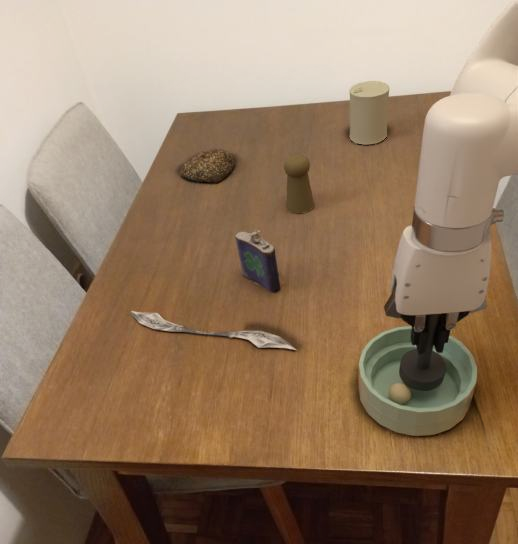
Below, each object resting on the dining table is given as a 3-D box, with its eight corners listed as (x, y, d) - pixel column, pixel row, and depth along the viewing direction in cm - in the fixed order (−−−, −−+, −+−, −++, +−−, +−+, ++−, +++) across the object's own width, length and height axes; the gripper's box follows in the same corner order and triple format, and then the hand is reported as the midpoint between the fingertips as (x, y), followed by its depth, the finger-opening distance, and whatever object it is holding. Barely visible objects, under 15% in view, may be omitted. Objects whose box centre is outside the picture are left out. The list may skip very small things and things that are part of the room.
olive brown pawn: (282, 213, 111) (277, 164, 103) (290, 197, 115) (285, 149, 107) (310, 214, 109) (307, 165, 101) (317, 199, 113) (314, 150, 105)
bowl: (454, 350, 79) (460, 321, 75) (483, 434, 69) (491, 407, 65) (353, 357, 81) (353, 330, 77) (365, 441, 70) (366, 415, 66)
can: (344, 132, 133) (344, 83, 124) (379, 125, 133) (381, 75, 124) (355, 148, 126) (356, 97, 118) (392, 141, 127) (395, 89, 118)
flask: (239, 275, 98) (230, 226, 91) (251, 267, 100) (243, 219, 92) (273, 295, 93) (267, 246, 86) (285, 287, 94) (279, 237, 87)
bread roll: (216, 188, 122) (212, 168, 118) (175, 179, 127) (169, 159, 124) (245, 162, 129) (242, 142, 125) (205, 154, 134) (201, 135, 131)
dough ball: (403, 400, 75) (413, 384, 73) (405, 411, 72) (416, 395, 71) (384, 392, 75) (394, 375, 73) (385, 403, 72) (396, 386, 71)
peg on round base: (440, 357, 74) (456, 289, 65) (447, 391, 70) (464, 324, 61) (397, 357, 75) (406, 290, 66) (401, 391, 71) (411, 325, 62)
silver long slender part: (132, 310, 95) (119, 329, 92) (131, 307, 95) (118, 326, 92) (303, 332, 86) (296, 354, 83) (303, 329, 85) (295, 351, 82)
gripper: (515, 198, 57) (481, 321, 70) (368, 211, 58) (362, 330, 71) (540, 237, 52) (499, 363, 65) (379, 251, 53) (370, 371, 66)
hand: (427, 345), depth 68 cm, fingers closed on peg on round base
